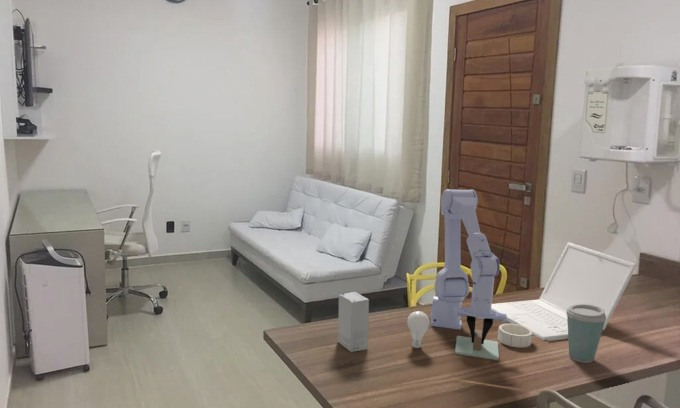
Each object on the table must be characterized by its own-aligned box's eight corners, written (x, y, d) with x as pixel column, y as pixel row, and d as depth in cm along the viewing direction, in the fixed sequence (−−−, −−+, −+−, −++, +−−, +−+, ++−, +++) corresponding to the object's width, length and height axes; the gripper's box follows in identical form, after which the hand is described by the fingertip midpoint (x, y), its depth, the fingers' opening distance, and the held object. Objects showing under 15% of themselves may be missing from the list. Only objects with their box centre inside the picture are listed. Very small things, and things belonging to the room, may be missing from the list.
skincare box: (368, 349, 161) (371, 299, 159) (349, 353, 158) (352, 302, 156) (353, 338, 168) (356, 290, 166) (335, 341, 165) (338, 292, 163)
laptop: (484, 309, 201) (490, 245, 197) (561, 301, 214) (569, 241, 210) (543, 343, 174) (552, 270, 170) (627, 331, 187) (637, 263, 183)
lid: (454, 353, 160) (456, 338, 160) (456, 337, 172) (458, 323, 171) (498, 360, 158) (500, 344, 157) (497, 343, 169) (499, 328, 168)
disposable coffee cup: (580, 368, 156) (587, 316, 154) (552, 352, 166) (558, 303, 163) (608, 363, 160) (616, 313, 158) (579, 348, 170) (585, 300, 168)
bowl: (498, 346, 169) (499, 333, 168) (497, 333, 178) (498, 321, 177) (532, 350, 166) (533, 337, 166) (529, 338, 176) (530, 326, 175)
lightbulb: (429, 345, 166) (432, 310, 164) (425, 354, 160) (428, 317, 158) (407, 341, 168) (410, 306, 166) (403, 350, 162) (405, 313, 160)
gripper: (455, 298, 160) (451, 343, 162) (508, 305, 157) (503, 351, 159) (456, 290, 167) (452, 334, 169) (507, 297, 164) (502, 341, 166)
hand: (477, 342), depth 165 cm, fingers closed on lid
